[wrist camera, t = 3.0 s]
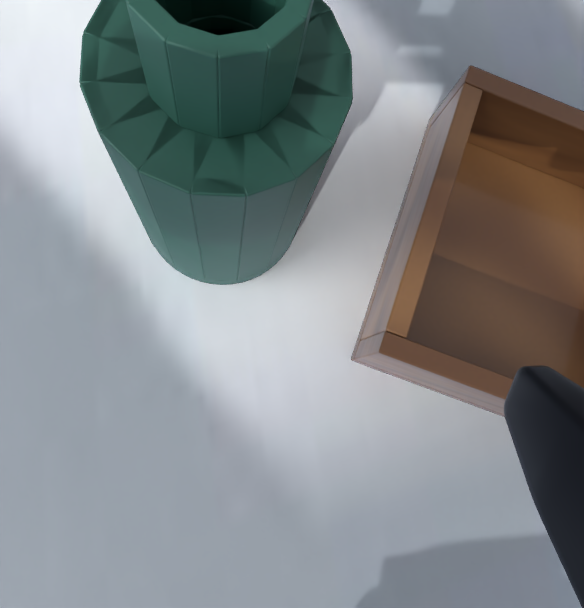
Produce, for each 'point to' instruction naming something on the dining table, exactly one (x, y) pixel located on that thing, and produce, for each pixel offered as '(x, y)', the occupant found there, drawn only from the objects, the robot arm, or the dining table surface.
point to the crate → (485, 248)
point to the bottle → (217, 121)
